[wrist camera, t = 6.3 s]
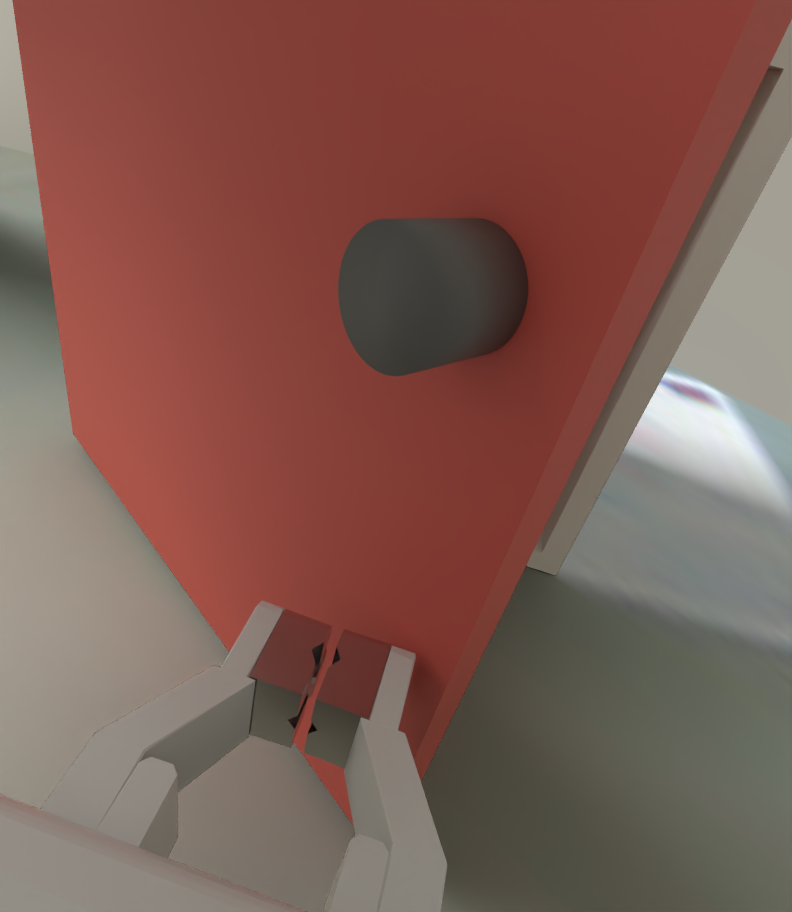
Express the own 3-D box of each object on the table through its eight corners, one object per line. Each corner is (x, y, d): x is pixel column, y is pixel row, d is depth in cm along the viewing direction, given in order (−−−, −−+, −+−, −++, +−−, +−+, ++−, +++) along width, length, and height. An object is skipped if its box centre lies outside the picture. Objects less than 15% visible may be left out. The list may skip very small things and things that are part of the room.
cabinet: (104, 431, 27) (43, -165, 16) (237, 328, 39) (257, -60, 27) (555, 575, 26) (848, 31, 14) (555, 424, 37) (716, 55, 26)
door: (33, 442, 25) (-87, -187, 14) (96, 428, 27) (32, -145, 16) (323, 898, 14) (778, -321, 3) (399, 825, 16) (870, -140, 5)
